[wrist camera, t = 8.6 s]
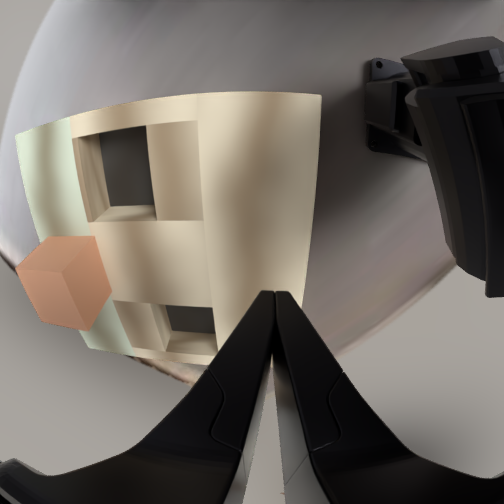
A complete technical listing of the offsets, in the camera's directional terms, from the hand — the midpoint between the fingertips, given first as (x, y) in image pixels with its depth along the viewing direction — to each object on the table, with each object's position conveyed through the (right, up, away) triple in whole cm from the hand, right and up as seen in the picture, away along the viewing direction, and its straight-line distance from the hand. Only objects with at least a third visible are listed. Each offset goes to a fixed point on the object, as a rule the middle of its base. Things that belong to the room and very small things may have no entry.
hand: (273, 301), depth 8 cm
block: (-14, +1, +11) cm, 18 cm away
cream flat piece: (-7, +2, +13) cm, 15 cm away
